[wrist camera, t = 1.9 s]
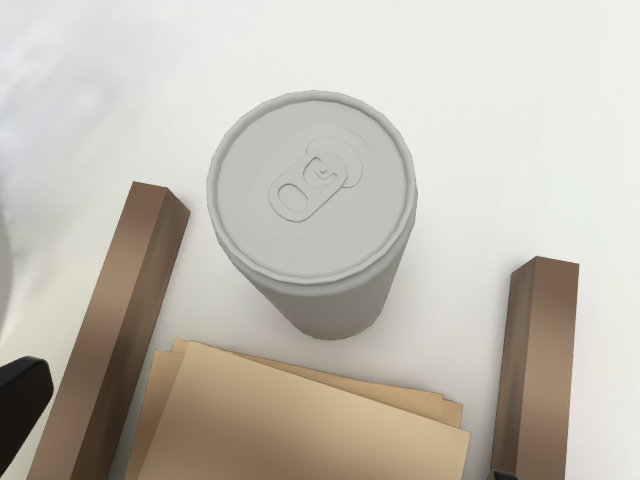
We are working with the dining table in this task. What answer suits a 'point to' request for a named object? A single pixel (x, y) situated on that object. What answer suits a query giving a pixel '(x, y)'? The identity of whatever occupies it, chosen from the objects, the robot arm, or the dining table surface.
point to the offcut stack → (286, 423)
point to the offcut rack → (144, 304)
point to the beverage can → (315, 207)
